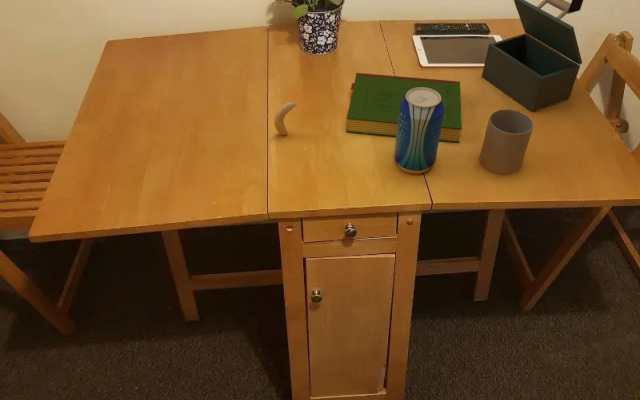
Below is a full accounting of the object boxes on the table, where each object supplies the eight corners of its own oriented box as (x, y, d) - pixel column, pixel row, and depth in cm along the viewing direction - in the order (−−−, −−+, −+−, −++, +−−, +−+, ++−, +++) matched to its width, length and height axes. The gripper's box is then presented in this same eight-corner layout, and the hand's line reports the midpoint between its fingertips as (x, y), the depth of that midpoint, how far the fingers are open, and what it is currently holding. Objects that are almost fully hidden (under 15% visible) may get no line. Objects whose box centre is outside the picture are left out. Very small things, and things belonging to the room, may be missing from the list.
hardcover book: (457, 95, 138) (460, 81, 135) (458, 142, 124) (461, 128, 122) (352, 86, 141) (353, 72, 138) (342, 131, 127) (343, 117, 125)
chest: (531, 112, 133) (541, 78, 127) (481, 76, 144) (488, 44, 138) (568, 99, 137) (580, 65, 131) (517, 65, 148) (525, 33, 142)
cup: (512, 179, 116) (524, 139, 109) (473, 165, 119) (483, 125, 112) (526, 157, 121) (539, 117, 114) (488, 144, 124) (498, 104, 117)
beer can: (395, 147, 123) (403, 82, 112) (435, 152, 122) (447, 87, 111) (391, 173, 117) (398, 106, 106) (433, 178, 116) (445, 111, 105)
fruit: (269, 130, 126) (270, 135, 125) (278, 100, 120) (280, 106, 119) (286, 131, 127) (288, 137, 126) (297, 102, 121) (298, 107, 120)
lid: (570, 29, 121) (592, 9, 120) (512, -3, 132) (531, -21, 132) (579, 65, 130) (599, 47, 130) (524, 32, 142) (543, 15, 141)
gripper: (543, -121, 117) (516, -10, 133) (623, -93, 105) (583, 26, 120) (570, -125, 120) (540, -16, 136) (651, -99, 107) (608, 18, 123)
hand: (560, 3), depth 128 cm, fingers closed on lid, 7 cm apart
